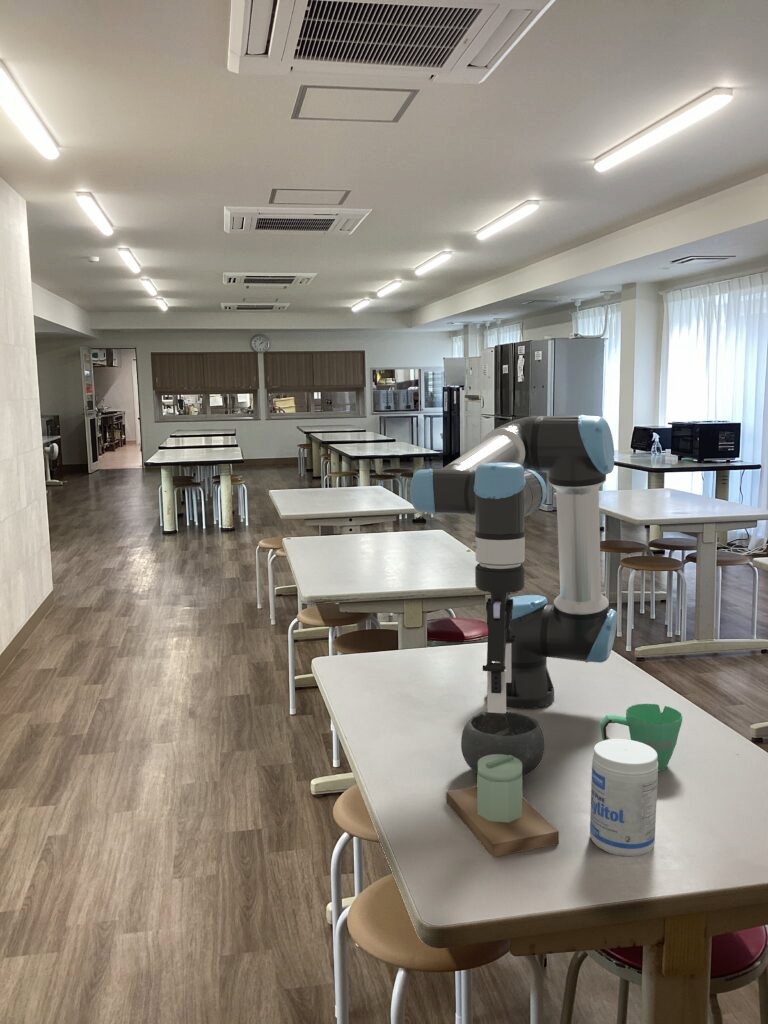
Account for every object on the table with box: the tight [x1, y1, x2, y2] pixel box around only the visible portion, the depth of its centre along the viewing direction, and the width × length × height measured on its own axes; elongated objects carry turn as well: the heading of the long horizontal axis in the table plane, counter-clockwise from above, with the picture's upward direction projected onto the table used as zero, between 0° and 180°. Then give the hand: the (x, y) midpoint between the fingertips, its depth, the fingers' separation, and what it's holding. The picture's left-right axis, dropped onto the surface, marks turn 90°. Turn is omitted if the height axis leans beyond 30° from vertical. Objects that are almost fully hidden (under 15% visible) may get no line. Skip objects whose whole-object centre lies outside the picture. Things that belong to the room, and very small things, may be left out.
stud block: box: [446, 785, 560, 858], centre depth 133 cm, size 11×18×8 cm, turn 18°
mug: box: [599, 703, 683, 772], centre depth 152 cm, size 15×10×10 cm
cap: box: [476, 754, 523, 822], centre depth 132 cm, size 7×7×9 cm
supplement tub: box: [589, 738, 659, 857], centre depth 125 cm, size 10×10×15 cm
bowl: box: [460, 710, 546, 778], centre depth 149 cm, size 15×15×10 cm
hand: (500, 696), depth 131 cm, fingers open, 13 cm apart
